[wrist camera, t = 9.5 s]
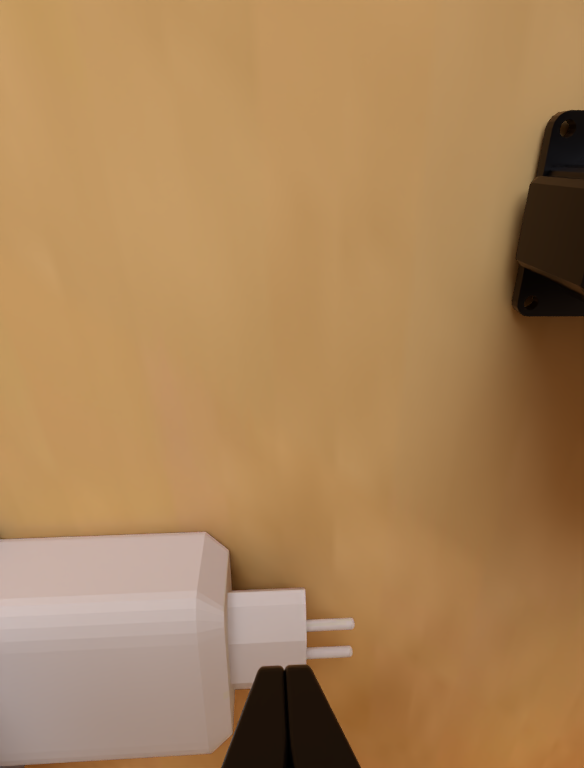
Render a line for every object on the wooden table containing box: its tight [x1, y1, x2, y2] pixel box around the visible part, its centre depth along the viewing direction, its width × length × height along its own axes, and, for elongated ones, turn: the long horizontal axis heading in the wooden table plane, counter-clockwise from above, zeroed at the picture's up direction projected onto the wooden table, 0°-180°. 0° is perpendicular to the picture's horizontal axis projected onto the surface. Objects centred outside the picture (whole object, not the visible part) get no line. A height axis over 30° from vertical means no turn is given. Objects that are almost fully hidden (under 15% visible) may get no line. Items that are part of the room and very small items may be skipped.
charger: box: [0, 532, 355, 766], centre depth 22 cm, size 5×9×15 cm
